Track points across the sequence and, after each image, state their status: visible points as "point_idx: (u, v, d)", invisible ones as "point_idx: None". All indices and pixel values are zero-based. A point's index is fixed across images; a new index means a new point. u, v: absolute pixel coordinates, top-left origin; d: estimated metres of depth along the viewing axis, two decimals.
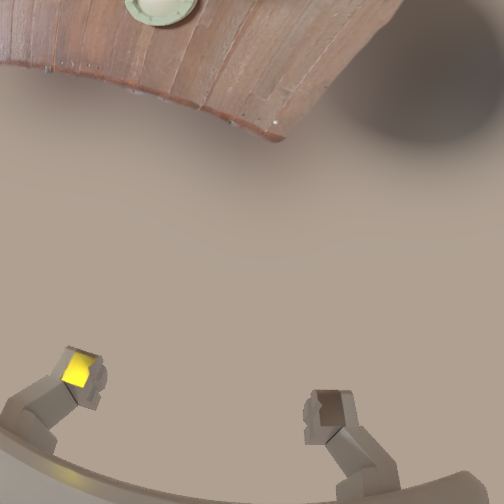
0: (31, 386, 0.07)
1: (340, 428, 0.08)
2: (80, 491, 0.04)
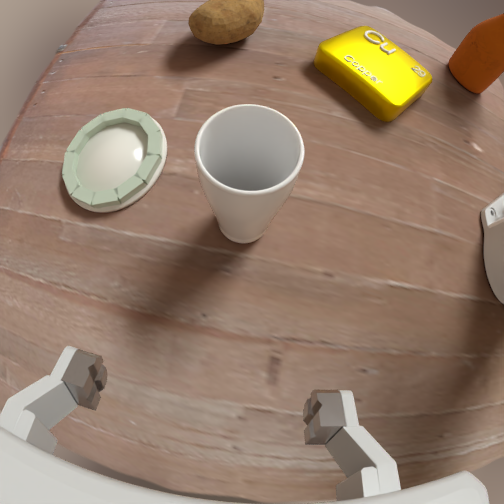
0: (31, 386, 0.07)
1: (340, 428, 0.08)
2: (80, 491, 0.04)
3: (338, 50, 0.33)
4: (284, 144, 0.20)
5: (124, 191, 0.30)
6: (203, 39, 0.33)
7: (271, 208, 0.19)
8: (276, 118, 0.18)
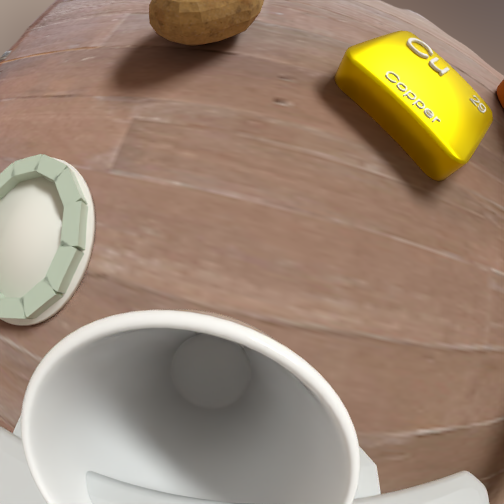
0: None
1: None
2: None
3: (375, 63, 0.21)
4: (295, 378, 0.07)
5: (31, 305, 0.16)
6: (167, 37, 0.21)
7: None
8: None
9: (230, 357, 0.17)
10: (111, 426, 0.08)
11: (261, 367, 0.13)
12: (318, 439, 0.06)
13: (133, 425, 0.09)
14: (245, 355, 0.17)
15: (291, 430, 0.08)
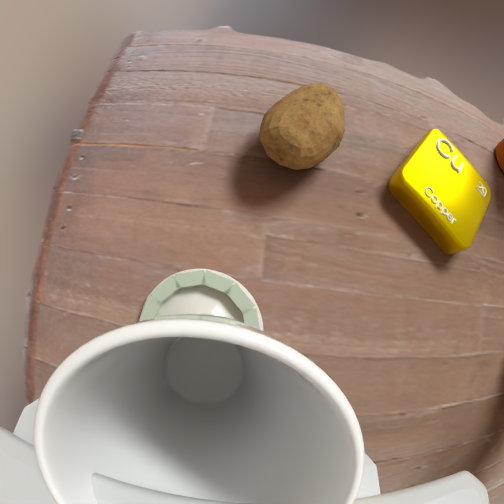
0: None
1: None
2: None
3: (419, 180, 0.34)
4: (297, 376, 0.07)
5: None
6: (281, 164, 0.34)
7: None
8: None
9: (223, 353, 0.17)
10: (114, 428, 0.08)
11: (256, 363, 0.13)
12: (320, 434, 0.06)
13: (134, 425, 0.09)
14: (238, 351, 0.17)
15: (290, 425, 0.09)
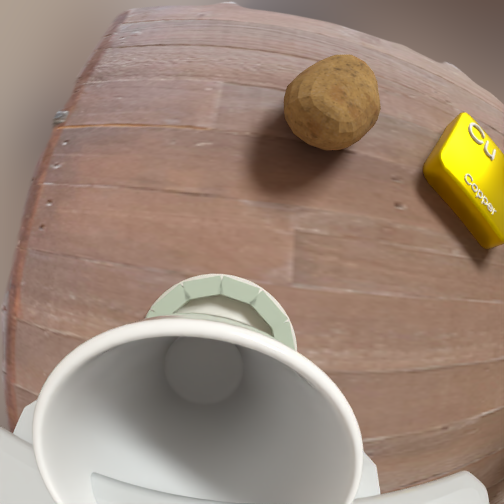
0: None
1: None
2: None
3: (457, 166, 0.28)
4: (296, 376, 0.07)
5: None
6: (311, 143, 0.27)
7: None
8: None
9: (222, 353, 0.17)
10: (113, 427, 0.08)
11: (255, 363, 0.13)
12: (319, 434, 0.06)
13: (133, 424, 0.09)
14: (237, 351, 0.17)
15: (289, 425, 0.09)
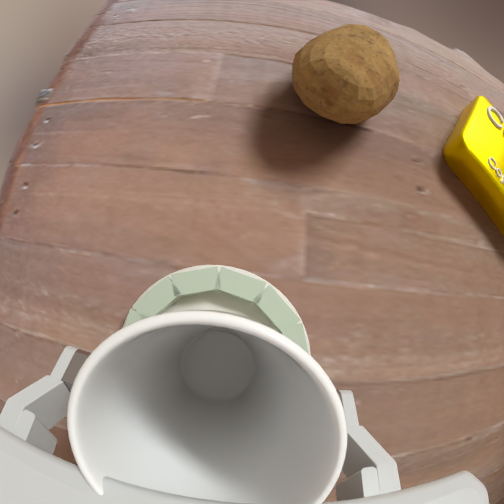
0: (31, 386, 0.07)
1: None
2: (80, 491, 0.04)
3: (480, 149, 0.23)
4: (294, 364, 0.08)
5: None
6: (324, 114, 0.22)
7: None
8: (281, 350, 0.06)
9: (235, 353, 0.18)
10: (134, 415, 0.09)
11: (264, 360, 0.14)
12: (314, 416, 0.07)
13: (152, 414, 0.11)
14: (249, 350, 0.18)
15: (292, 413, 0.10)
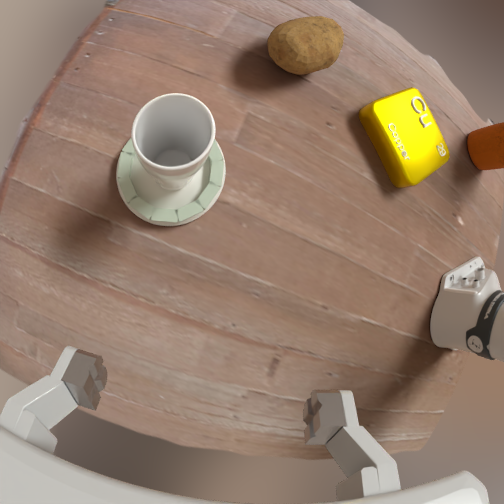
0: (31, 386, 0.07)
1: (340, 428, 0.08)
2: (80, 491, 0.04)
3: (386, 115, 0.39)
4: (207, 130, 0.24)
5: (184, 215, 0.35)
6: (277, 63, 0.35)
7: (178, 177, 0.24)
8: (204, 111, 0.22)
9: (184, 163, 0.34)
10: (140, 145, 0.24)
11: (198, 156, 0.30)
12: None
13: (143, 155, 0.26)
14: None
15: None
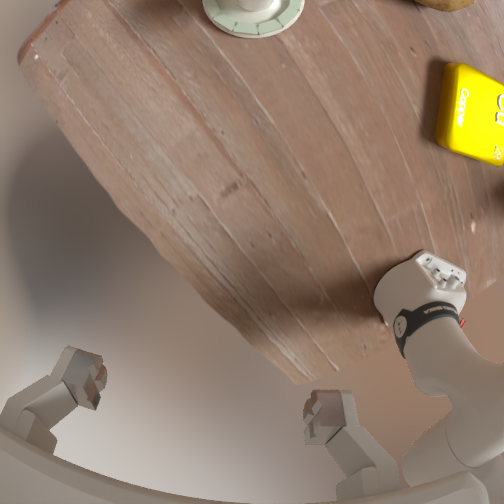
0: (31, 386, 0.07)
1: (340, 428, 0.08)
2: (80, 491, 0.04)
3: (466, 81, 0.29)
4: None
5: (240, 29, 0.31)
6: None
7: None
8: None
9: None
10: None
11: None
12: None
13: None
14: None
15: None
